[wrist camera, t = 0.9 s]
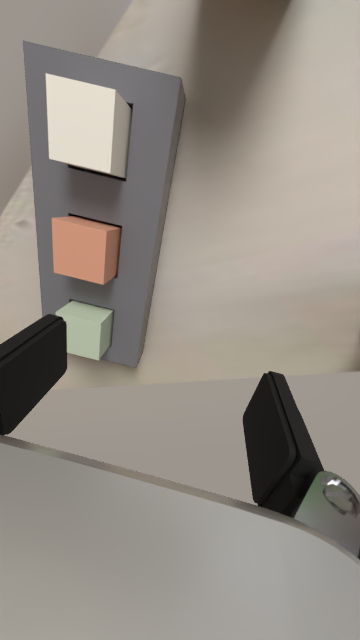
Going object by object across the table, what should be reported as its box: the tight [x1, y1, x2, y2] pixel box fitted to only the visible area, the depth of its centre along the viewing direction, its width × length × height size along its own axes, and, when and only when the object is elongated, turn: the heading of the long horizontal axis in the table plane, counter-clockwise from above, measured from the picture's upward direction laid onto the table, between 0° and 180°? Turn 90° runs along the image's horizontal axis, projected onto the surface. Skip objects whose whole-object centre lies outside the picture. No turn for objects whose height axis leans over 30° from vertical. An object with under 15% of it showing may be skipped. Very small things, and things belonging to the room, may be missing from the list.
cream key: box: [46, 73, 133, 179], centre depth 21 cm, size 6×6×5 cm
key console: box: [23, 41, 186, 368], centre depth 29 cm, size 14×32×4 cm, turn 168°
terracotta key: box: [52, 216, 122, 285], centre depth 26 cm, size 6×6×5 cm
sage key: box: [56, 300, 115, 361], centre depth 31 cm, size 6×6×5 cm
